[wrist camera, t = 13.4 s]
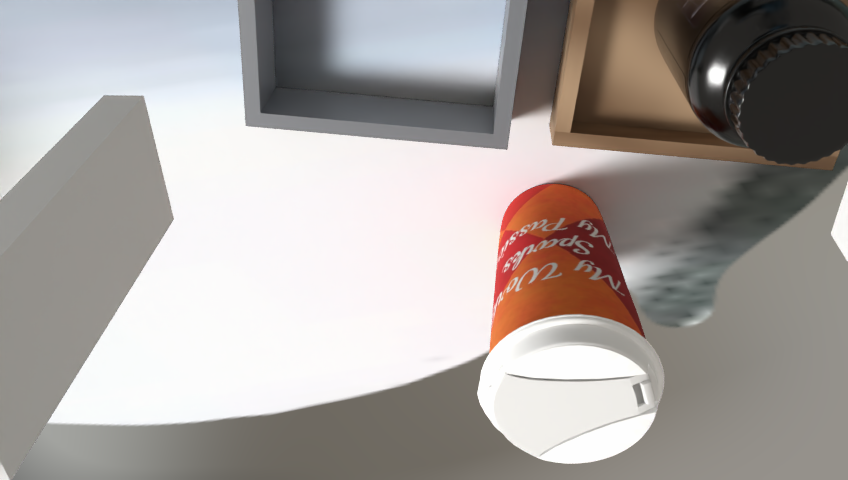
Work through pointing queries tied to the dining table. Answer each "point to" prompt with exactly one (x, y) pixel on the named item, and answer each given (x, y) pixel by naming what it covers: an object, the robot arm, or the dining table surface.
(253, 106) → the holder box
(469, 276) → the dining table surface
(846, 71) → the supplement bottle
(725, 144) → the tray
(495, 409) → the coffee cup
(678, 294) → the dining table surface
